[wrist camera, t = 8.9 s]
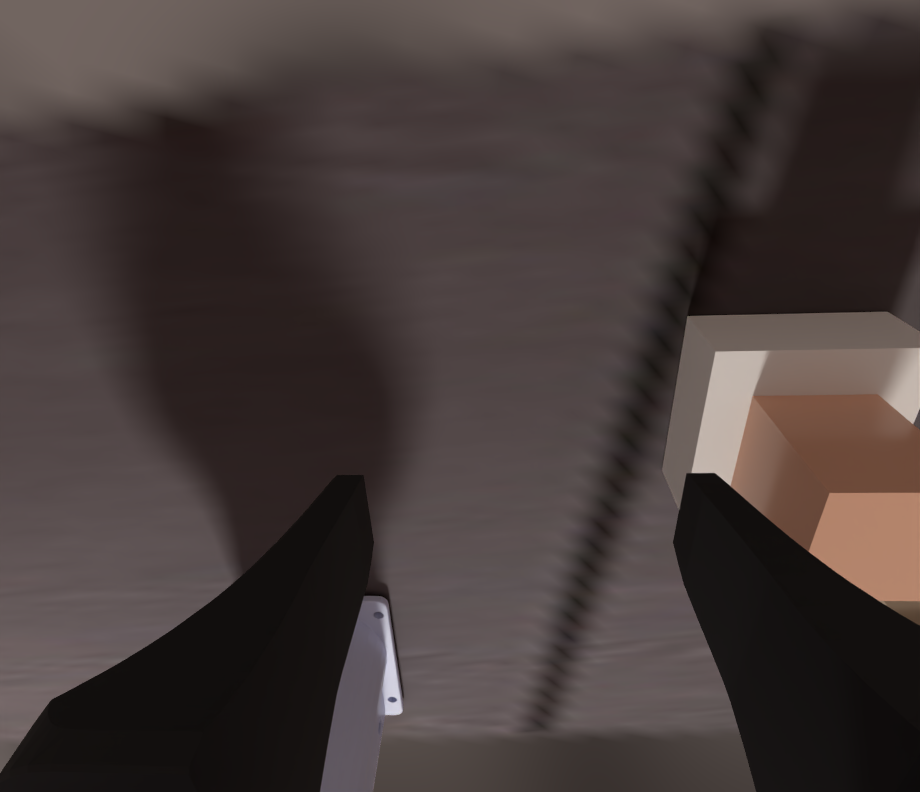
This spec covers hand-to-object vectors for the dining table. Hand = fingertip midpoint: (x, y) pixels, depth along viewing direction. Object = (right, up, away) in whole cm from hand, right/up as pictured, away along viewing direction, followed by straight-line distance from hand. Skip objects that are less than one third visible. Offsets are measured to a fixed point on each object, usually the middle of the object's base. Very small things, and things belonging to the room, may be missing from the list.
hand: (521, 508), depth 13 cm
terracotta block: (+10, +1, +7) cm, 13 cm away
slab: (+11, +3, +10) cm, 14 cm away
